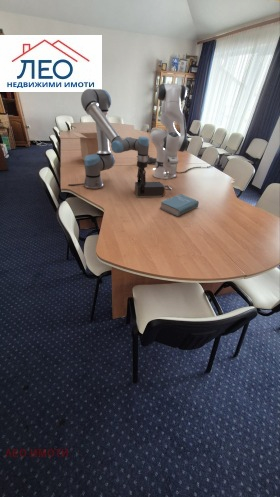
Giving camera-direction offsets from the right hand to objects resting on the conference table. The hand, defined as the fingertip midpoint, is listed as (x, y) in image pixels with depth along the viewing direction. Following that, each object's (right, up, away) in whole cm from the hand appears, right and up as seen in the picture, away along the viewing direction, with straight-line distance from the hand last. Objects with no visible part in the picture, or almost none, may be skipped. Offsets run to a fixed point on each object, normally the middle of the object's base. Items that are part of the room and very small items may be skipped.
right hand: (167, 176), depth 169 cm
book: (+6, -26, -12) cm, 30 cm away
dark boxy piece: (-15, -12, +5) cm, 20 cm away
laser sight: (-12, +39, +74) cm, 85 cm away
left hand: (-21, -10, +2) cm, 23 cm away
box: (-71, +39, +68) cm, 106 cm away
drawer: (-10, -11, +6) cm, 16 cm away
